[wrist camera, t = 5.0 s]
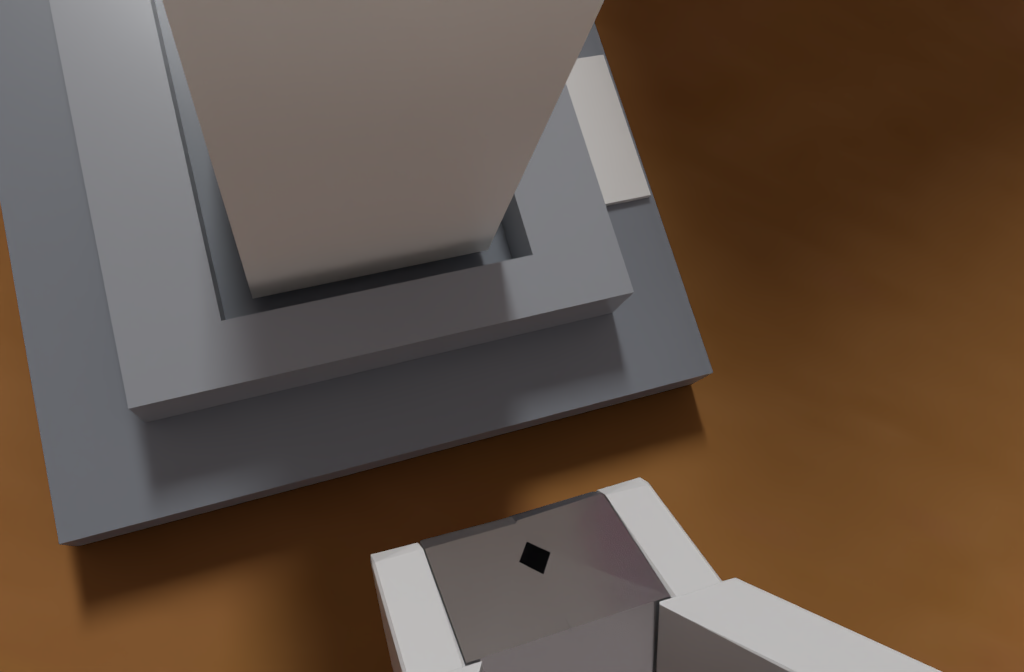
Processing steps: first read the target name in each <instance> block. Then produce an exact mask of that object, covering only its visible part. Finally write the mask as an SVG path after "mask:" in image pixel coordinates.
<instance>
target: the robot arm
mask: <svg viewBox="0 0 1024 672" xmlns="http://www.w3.org/2000/svg"><path fill="white" fill-rule="evenodd" d="M371 567H372V572H373V577H374V582H375V587H376V592H377V597H378V602H379V607H380V612H381V617H382V622H383V627H384V632H385V636H386V641H387V645H388V650H389V654H390V659H391V663H392V668H393V672H941V671H939V670H937V669H935V668H933V667H930V666H928V665H926V664H924V663H922V662H919V661H917V660H915V659H913V658H911V657H908V656H906V655H904V654H902V653H900V652H897V651H895V650H893V649H891V648H889V647H887V646H884V645H882V644H880V643H878V642H876V641H873V640H871V639H869V638H867V637H865V636H862V635H860V634H858V633H856V632H854V631H851V630H849V629H847V628H845V627H843V626H840V625H838V624H836V623H834V622H832V621H830V620H827V619H825V618H823V617H821V616H819V615H816V614H814V613H812V612H810V611H808V610H805V609H803V608H801V607H799V606H797V605H794V604H792V603H790V602H788V601H786V600H784V599H781V598H779V597H777V596H775V595H773V594H770V593H768V592H766V591H764V590H762V589H759V588H757V587H755V586H753V585H751V584H748V583H746V582H744V581H742V580H740V579H738V578H732V579H729V580H725V581H722V580H721V579H720V578H719V576H718V575H717V574H716V572H715V571H714V570H713V568H712V567H711V566H710V564H709V563H708V562H707V560H706V559H705V558H704V556H703V555H702V554H701V552H700V551H699V550H698V548H697V547H696V545H695V544H694V543H693V541H692V540H691V539H690V537H689V536H688V535H687V533H686V532H685V531H684V529H683V528H682V527H681V525H680V524H679V523H678V521H677V520H676V519H675V517H674V516H673V515H672V513H671V512H670V511H669V509H668V508H667V507H666V505H665V504H664V503H663V501H662V500H661V499H660V497H659V496H658V495H657V493H656V492H655V491H654V489H653V488H652V487H651V485H650V484H649V483H648V482H647V481H645V480H643V479H642V478H640V477H639V478H636V479H633V480H629V481H626V482H623V483H619V484H616V485H613V486H609V487H606V488H603V489H599V490H597V491H596V492H590V493H587V494H583V495H580V496H576V497H573V498H570V499H566V500H563V501H560V502H556V503H553V504H550V505H546V506H543V507H540V508H536V509H533V510H530V511H526V512H523V513H520V514H516V515H513V516H510V517H508V518H504V519H501V520H497V521H493V522H489V523H485V524H482V525H478V526H474V527H470V528H466V529H462V530H459V531H455V532H451V533H447V534H443V535H440V536H436V537H432V538H428V539H424V540H421V541H420V544H419V543H414V544H410V545H406V546H402V547H398V548H394V549H390V550H386V551H383V552H379V553H375V554H371Z"/></svg>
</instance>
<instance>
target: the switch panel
mask: <svg viewBox="0 0 1024 672" xmlns="http://www.w3.org/2000/svg"><path fill="white" fill-rule="evenodd" d="M0 202H1V208H2V214H3V220H4V225H5V231H6V237H7V243H8V249H9V255H10V260H11V266H12V272H13V278H14V284H15V289H16V295H17V301H18V307H19V313H20V319H21V324H22V330H23V336H24V342H25V348H26V354H27V359H28V365H29V371H30V377H31V383H32V389H33V394H34V400H35V406H36V412H37V418H38V423H39V429H40V435H41V441H42V447H43V453H44V458H45V464H46V470H47V476H48V482H49V488H50V493H51V499H52V505H53V511H54V517H55V523H56V528H57V534H58V540H59V544H62V545H71V546H81V545H85V544H89V543H92V542H96V541H100V540H104V539H107V538H111V537H115V536H119V535H123V534H126V533H130V532H134V531H138V530H142V529H145V528H149V527H153V526H157V525H160V524H164V523H168V522H172V521H176V520H179V519H183V518H187V517H191V516H194V515H198V514H202V513H206V512H210V511H213V510H217V509H221V508H225V507H229V506H232V505H236V504H240V503H244V502H247V501H251V500H255V499H259V498H263V497H266V496H270V495H274V494H278V493H282V492H285V491H289V490H293V489H297V488H300V487H304V486H308V485H312V484H316V483H319V482H323V481H327V480H331V479H334V478H338V477H342V476H346V475H350V474H353V473H357V472H361V471H365V470H369V469H372V468H376V467H380V466H384V465H387V464H391V463H395V462H399V461H403V460H406V459H410V458H414V457H418V456H421V455H425V454H429V453H433V452H437V451H440V450H444V449H448V448H452V447H456V446H459V445H463V444H467V443H471V442H474V441H478V440H482V439H486V438H490V437H493V436H497V435H501V434H505V433H509V432H512V431H516V430H520V429H524V428H527V427H531V426H535V425H539V424H543V423H546V422H550V421H554V420H558V419H561V418H565V417H569V416H573V415H577V414H580V413H584V412H588V411H592V410H596V409H599V408H603V407H607V406H611V405H614V404H618V403H622V402H626V401H630V400H633V399H637V398H641V397H645V396H649V395H652V394H656V393H660V392H664V391H667V390H671V389H675V388H679V387H683V386H686V385H690V384H693V383H695V382H697V381H698V380H700V379H702V378H704V377H706V376H708V375H710V374H711V373H713V371H712V368H711V365H710V362H709V359H708V356H707V353H706V350H705V347H704V344H703V341H702V338H701V335H700V332H699V329H698V326H697V323H696V320H695V318H694V315H693V312H692V309H691V306H690V303H689V300H688V297H687V294H686V291H685V288H684V285H683V282H682V279H681V276H680V273H679V270H678V267H677V264H676V261H675V259H674V256H673V253H672V250H671V247H670V244H669V241H668V238H667V235H666V232H665V229H664V226H663V223H662V220H661V217H660V214H659V211H658V208H657V205H656V202H655V200H654V197H653V194H652V191H651V188H650V185H649V182H648V179H647V176H646V173H645V170H644V167H643V164H642V161H641V158H640V155H639V152H638V149H637V146H636V143H635V141H634V138H633V135H632V132H631V129H630V126H629V123H628V120H627V117H626V114H625V111H624V108H623V105H622V102H621V99H620V96H619V93H618V90H617V87H616V84H615V82H614V79H613V76H612V73H611V70H610V67H609V64H608V61H607V58H606V55H605V52H604V49H603V46H602V43H601V40H600V37H599V34H598V31H597V28H596V25H595V23H594V24H593V26H592V28H591V30H590V32H589V34H588V36H587V39H586V41H585V43H584V45H583V47H582V49H581V51H580V54H579V56H578V58H577V60H576V62H575V64H574V66H573V69H572V71H571V73H570V75H569V77H568V79H567V81H566V84H565V86H564V88H563V90H562V92H561V94H560V96H559V99H558V101H557V103H556V105H555V107H554V109H553V111H552V114H551V116H550V118H549V120H548V122H547V124H546V126H545V129H544V131H543V133H542V135H541V137H540V139H539V141H538V144H537V146H536V148H535V150H534V152H533V154H532V156H531V159H530V161H529V163H528V165H527V167H526V169H525V171H524V174H523V176H522V178H521V180H520V182H519V184H518V186H517V189H516V191H515V193H514V195H513V197H512V199H511V202H510V204H509V206H508V208H507V210H506V212H505V214H504V217H503V219H502V221H501V223H500V225H499V227H498V229H497V232H496V234H495V236H494V238H493V240H492V242H491V244H490V247H489V249H488V250H485V251H481V252H476V253H471V254H466V255H461V256H456V257H452V258H447V259H442V260H437V261H432V262H427V263H423V264H418V265H413V266H408V267H403V268H399V269H394V270H389V271H384V272H379V273H374V274H370V275H365V276H360V277H355V278H350V279H345V280H341V281H336V282H331V283H326V284H321V285H317V286H312V287H307V288H302V289H297V290H292V291H288V292H283V293H278V294H273V295H268V296H263V297H259V298H254V299H253V298H252V295H251V291H250V288H249V285H248V281H247V278H246V275H245V272H244V268H243V265H242V262H241V258H240V255H239V252H238V248H237V245H236V242H235V239H234V235H233V232H232V229H231V225H230V222H229V219H228V215H227V212H226V209H225V206H224V202H223V199H222V196H221V192H220V189H219V186H218V182H217V179H216V176H215V173H214V169H213V166H212V163H211V159H210V156H209V153H208V149H207V146H206V143H205V140H204V136H203V133H202V130H201V126H200V123H199V120H198V117H197V113H196V110H195V107H194V103H193V100H192V97H191V93H190V90H189V87H188V84H187V80H186V77H185V74H184V70H183V67H182V64H181V60H180V57H179V54H178V51H177V47H176V44H175V41H174V37H173V34H172V31H171V27H170V24H169V21H168V18H167V14H166V11H165V8H164V4H163V1H162V0H0Z"/></svg>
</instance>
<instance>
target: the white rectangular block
mask: <svg viewBox="0 0 1024 672" xmlns="http://www.w3.org/2000/svg"><path fill="white" fill-rule="evenodd" d="M162 1H163V4H164V8H165V11H166V14H167V18H168V21H169V24H170V27H171V31H172V34H173V37H174V41H175V44H176V47H177V51H178V54H179V57H180V60H181V64H182V67H183V70H184V74H185V77H186V80H187V84H188V87H189V90H190V93H191V97H192V100H193V103H194V107H195V110H196V113H197V117H198V120H199V123H200V126H201V130H202V133H203V136H204V140H205V143H206V146H207V149H208V153H209V156H210V159H211V163H212V166H213V169H214V173H215V176H216V179H217V182H218V186H219V189H220V192H221V196H222V199H223V202H224V206H225V209H226V212H227V215H228V219H229V222H230V225H231V229H232V232H233V235H234V239H235V242H236V245H237V248H238V252H239V255H240V258H241V262H242V265H243V268H244V272H245V275H246V278H247V281H248V285H249V288H250V291H251V295H252V298H253V299H254V298H259V297H263V296H268V295H273V294H278V293H283V292H288V291H292V290H297V289H302V288H307V287H312V286H317V285H321V284H326V283H331V282H336V281H341V280H345V279H350V278H355V277H360V276H365V275H370V274H374V273H379V272H384V271H389V270H394V269H399V268H403V267H408V266H413V265H418V264H423V263H427V262H432V261H437V260H442V259H447V258H452V257H456V256H461V255H466V254H471V253H476V252H481V251H485V250H488V249H489V247H490V244H491V242H492V240H493V238H494V236H495V234H496V232H497V229H498V227H499V225H500V223H501V221H502V219H503V217H504V214H505V212H506V210H507V208H508V206H509V204H510V202H511V199H512V197H513V195H514V193H515V191H516V189H517V186H518V184H519V182H520V180H521V178H522V176H523V174H524V171H525V169H526V167H527V165H528V163H529V161H530V159H531V156H532V154H533V152H534V150H535V148H536V146H537V144H538V141H539V139H540V137H541V135H542V133H543V131H544V129H545V126H546V124H547V122H548V120H549V118H550V116H551V114H552V111H553V109H554V107H555V105H556V103H557V101H558V99H559V96H560V94H561V92H562V90H563V88H564V86H565V84H566V81H567V79H568V77H569V75H570V73H571V71H572V69H573V66H574V64H575V62H576V60H577V58H578V56H579V54H580V51H581V49H582V47H583V45H584V43H585V41H586V39H587V36H588V34H589V32H590V30H591V28H592V26H593V24H594V21H595V19H596V17H597V15H598V13H599V11H600V8H601V6H602V4H603V2H604V0H162Z"/></svg>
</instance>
